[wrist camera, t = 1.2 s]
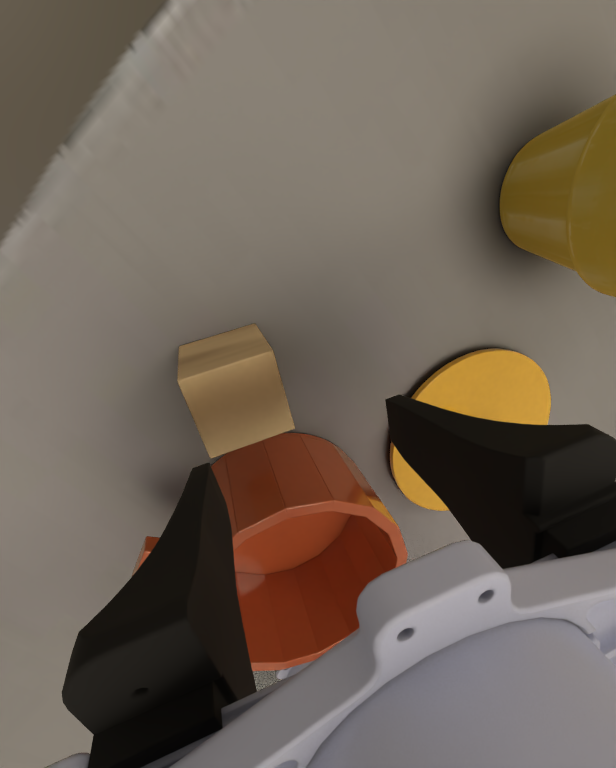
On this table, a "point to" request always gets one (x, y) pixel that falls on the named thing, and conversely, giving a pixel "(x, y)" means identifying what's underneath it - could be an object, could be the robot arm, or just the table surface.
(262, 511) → the pot
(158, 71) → the table surface
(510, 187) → the flower pot
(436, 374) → the yellow disc with peg
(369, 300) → the table surface
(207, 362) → the block
